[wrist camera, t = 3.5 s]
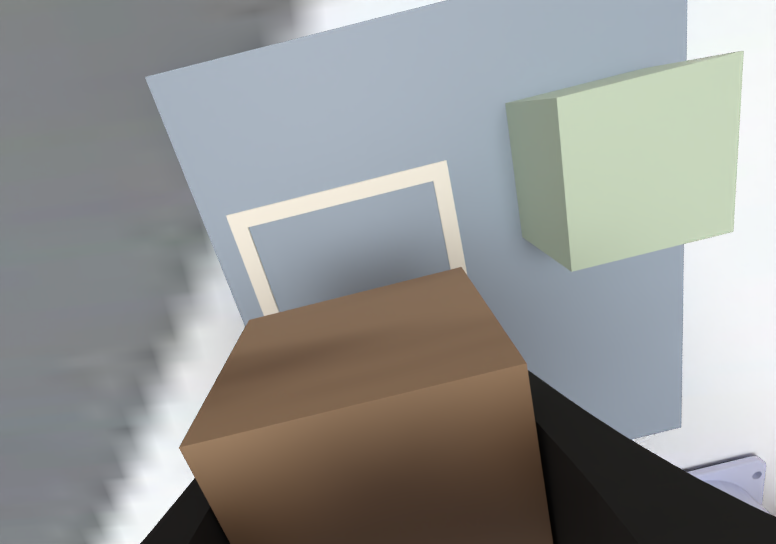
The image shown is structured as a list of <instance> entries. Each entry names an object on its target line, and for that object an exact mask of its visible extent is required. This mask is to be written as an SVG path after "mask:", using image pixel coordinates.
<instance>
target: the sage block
mask: <svg viewBox="0 0 776 544" xmlns="http://www.w3.org/2000/svg"><path fill="white" fill-rule="evenodd" d="M743 54H744V51H739V52H733V53H728V54H722V55H716V56H711V57H705V58H699V59H694V60H688V61H682V62H676V63H671V64H665V65H659V66H654V67H648V68H643V69H639V70H635V71H631V72H627V73H623V74H619V75H615V76H611V77H607V78H603V79H599V80H595V81H591V82H588V83H584V84H580V85H576V86H572V87H568V88H564V89H560V90H556V91H552V92H548V93H544V94H540V95H536V96H532V97H528V98H524V99H520V100H516V101H512V102H508V103H505V106H506V114H507V121H508V129H509V137H510V145H511V153H512V161H513V169H514V176H515V184H516V192H517V200H518V208H519V216H520V223H521V231H522V237H523V238H524V239H526V240H527V241H528V242H530V243H531V244H533V245H534V246H536V247H537V248H538V249H540V250H541V251H543V252H544V253H546V254H547V255H548V256H550V257H551V258H553V259H554V260H556V261H557V262H558V263H560V264H561V265H563V266H564V267H566V268H567V269H568V270H570V271H571V272H573V271H577V270H581V269H585V268H589V267H593V266H597V265H601V264H605V263H609V262H613V261H617V260H621V259H625V258H629V257H633V256H638V255H642V254H646V253H650V252H654V251H658V250H662V249H666V248H670V247H674V246H678V245H682V244H686V243H690V242H694V241H698V240H702V239H706V238H710V237H714V236H718V235H722V234H726V233H730V232H733V229H734V211H735V194H736V176H737V159H738V141H739V124H740V106H741V89H742V71H743Z"/></svg>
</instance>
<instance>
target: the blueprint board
mask: <svg viewBox="0 0 776 544" xmlns="http://www.w3.org/2000/svg"><path fill="white" fill-rule="evenodd" d="M686 56H687V0H446V1H442V2H438V3H434V4H430V5H426V6H422V7H419V8H415V9H411V10H407V11H403V12H399V13H395V14H391V15H387V16H383V17H379V18H375V19H371V20H368V21H364V22H360V23H356V24H352V25H348V26H344V27H340V28H336V29H332V30H328V31H324V32H320V33H316V34H313V35H309V36H305V37H301V38H297V39H293V40H289V41H285V42H281V43H277V44H273V45H269V46H265V47H262V48H258V49H254V50H250V51H246V52H242V53H238V54H234V55H230V56H226V57H222V58H218V59H214V60H211V61H207V62H203V63H199V64H195V65H191V66H187V67H183V68H179V69H175V70H171V71H167V72H163V73H159V74H156V75H152V76H148V77H145V78H146V81H147V83H148V86H149V88H150V91H151V93H152V96H153V98H154V101H155V103H156V105H157V108H158V110H159V113H160V115H161V118H162V120H163V123H164V125H165V128H166V130H167V133H168V135H169V138H170V140H171V143H172V145H173V148H174V150H175V153H176V155H177V158H178V160H179V163H180V165H181V168H182V170H183V173H184V175H185V178H186V180H187V183H188V185H189V188H190V190H191V193H192V195H193V198H194V200H195V203H196V205H197V208H198V210H199V213H200V215H201V218H202V220H203V223H204V225H205V228H206V230H207V232H208V235H209V237H210V240H211V242H212V245H213V247H214V250H215V252H216V255H217V257H218V260H219V262H220V265H221V267H222V270H223V272H224V275H225V277H226V280H227V282H228V285H229V287H230V290H231V292H232V295H233V297H234V300H235V302H236V305H237V307H238V310H239V312H240V315H241V317H242V320H243V322H244V325H245V326H246V325H247V323H248V321H249V320H251V319H255V318H259V317H263V316H267V315H271V314H275V313H279V312H283V311H287V310H291V309H295V308H299V307H303V306H307V305H311V304H315V303H319V302H323V301H327V300H331V299H335V298H339V297H343V296H347V295H351V294H355V293H359V292H363V291H367V290H371V289H375V288H379V287H383V286H387V285H391V284H395V283H399V282H403V281H407V280H411V279H415V278H419V277H423V276H427V275H431V274H435V273H439V272H443V271H447V270H451V269H455V268H459V267H462V268H463V270H464V271H465V273H466V274H467V276H468V277H469V279H470V280H471V282H472V283H473V285H474V286H475V288H476V289H477V291H478V292H479V293H480V295H481V296H482V298H483V299H484V301H485V302H486V304H487V305H488V307H489V308H490V310H491V311H492V313H493V314H494V316H495V317H496V319H497V320H498V322H499V323H500V325H501V326H502V328H503V329H504V330H505V332H506V333H507V335H508V336H509V338H510V339H511V341H512V342H513V344H514V345H515V347H516V348H517V350H518V351H519V353H520V354H521V356H522V357H523V359H524V360H525V362H526V363H527V369H528V370H529V371H530V372H532V373H533V374H535V375H536V376H537V377H539V378H540V379H542V380H543V381H544V382H546V383H547V384H549V385H550V386H551V387H553V388H554V389H556V390H557V391H558V392H560V393H561V394H563V395H564V396H565V397H567V398H568V399H570V400H571V401H573V402H574V403H575V404H577V405H578V406H580V407H581V408H583V409H584V410H586V411H587V412H589V413H590V414H592V415H593V416H595V417H596V418H598V419H599V420H601V421H602V422H604V423H606V424H607V425H609V426H610V427H612V428H613V429H615V430H616V431H618V432H619V433H621V434H623V435H624V436H626V437H627V438H629V439H636V438H640V437H644V436H648V435H652V434H656V433H660V432H664V431H668V430H672V429H676V428H681V407H682V337H683V267H684V244H682V245H678V246H674V247H670V248H666V249H662V250H658V251H654V252H650V253H646V254H642V255H638V256H633V257H629V258H625V259H621V260H617V261H613V262H609V263H605V264H601V265H597V266H593V267H589V268H585V269H581V270H577V271H573V272H571V271H570V270H568V269H567V268H566V267H564V266H563V265H561V264H560V263H558V262H557V261H556V260H554V259H553V258H551V257H550V256H548V255H547V254H546V253H544V252H543V251H541V250H540V249H538V248H537V247H536V246H534V245H533V244H531V243H530V242H528V241H527V240H526V239H524V238H523V237H522V231H521V223H520V216H519V208H518V200H517V192H516V184H515V176H514V169H513V161H512V153H511V145H510V137H509V129H508V121H507V114H506V106H505V103H508V102H512V101H516V100H520V99H524V98H528V97H532V96H536V95H540V94H544V93H548V92H552V91H556V90H560V89H564V88H568V87H572V86H576V85H580V84H584V83H588V82H591V81H595V80H599V79H603V78H607V77H611V76H615V75H619V74H623V73H627V72H631V71H635V70H639V69H643V68H648V67H654V66H659V65H665V64H671V63H676V62H682V61H686Z"/></svg>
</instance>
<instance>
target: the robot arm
mask: <svg viewBox="0 0 776 544" xmlns="http://www.w3.org/2000/svg"><path fill="white" fill-rule="evenodd" d="M528 376H529V383H530V389H531V396H532V403H533V410H534V417H535V423H536V430H537V437H538V444H539V451H540V457H541V464H542V471H543V478H544V485H545V491H546V498H547V505H548V512H549V519H550V525H551V532H552V539H553V544H776V517H775V516H773V515H771V514H770V513H769V512H768V511H767V510H766V509H765V508H764V507H763V506H762V500H763V490H764V481H765V472H766V463H765V461H763V460H762V459H761V458H760V457H758V456H751V457H746V458H742V459H738V460H734V461H730V462H726V463H722V464H718V465H714V466H709V467H705V468H701V469H697V470H693V471H689V472H685V471H684V470H682V469H680V468H678V467H676V466H675V465H673V464H671V463H669V462H668V461H666V460H664V459H663V458H661V457H659V456H657V455H656V454H654V453H652V452H651V451H649V450H647V449H645V448H644V447H642V446H640V445H639V444H637V443H636V442H634V441H632V440H631V439H629V438H627V437H626V436H624V435H623V434H621V433H619V432H618V431H616V430H615V429H613V428H612V427H610V426H609V425H607V424H606V423H604V422H602V421H601V420H599V419H598V418H596V417H595V416H593V415H592V414H590V413H589V412H587V411H586V410H584V409H583V408H581V407H580V406H578V405H577V404H575V403H574V402H573V401H571V400H570V399H568V398H567V397H565V396H564V395H563V394H561V393H560V392H558V391H557V390H556V389H554V388H553V387H551V386H550V385H549V384H547V383H546V382H544V381H543V380H542V379H540V378H539V377H537V376H536V375H535V374H533V373H532V372H530V371H529V370H528ZM140 544H230V542H229V540H228V538H227V536H226V535H225V533H224V531H223V529H222V527H221V525H220V523H219V521H218V520H217V518H216V516H215V514H214V512H213V510H212V508H211V507H210V505H209V503H208V501H207V499H206V497H205V495H204V493H203V492H202V490H201V488H200V486H199V484H198V482H197V480H196V479H195V478H194V480H193V481H192V482H191V483H190V485H189V486H188V487H187V488H186V489H185V491H184V492H183V493H182V494H181V496H180V497H179V498H178V499H177V500H176V502H175V503H174V504H173V505H172V506H171V508H170V509H169V510H168V511H167V512H166V514H165V515H164V516H163V517H162V519H161V520H160V521H159V522H158V523H157V525H156V526H155V527H154V528H153V529H152V531H151V532H150V533H149V534H148V535H147V537H146V538H145V539H144V540H143V541H142V542H141V543H140Z"/></svg>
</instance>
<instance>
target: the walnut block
mask: <svg viewBox="0 0 776 544" xmlns="http://www.w3.org/2000/svg"><path fill="white" fill-rule="evenodd" d="M179 449H180V451H181V452H182V454H183V456H184V458H185V460H186V462H187V464H188V465H189V467H190V469H191V471H192V473H193V475H194V477H195V479H196V480H197V482H198V484H199V486H200V488H201V490H202V492H203V493H204V495H205V497H206V499H207V501H208V503H209V505H210V507H211V508H212V510H213V512H214V514H215V516H216V518H217V520H218V521H219V523H220V525H221V527H222V529H223V531H224V533H225V535H226V536H227V538H228V540H229V542H230V544H553V539H552V532H551V525H550V519H549V512H548V505H547V498H546V491H545V485H544V478H543V471H542V464H541V457H540V451H539V444H538V437H537V430H536V423H535V417H534V410H533V403H532V396H531V389H530V383H529V376H528V369H527V363H526V362H525V360H524V359H523V357H522V356H521V354H520V353H519V351H518V350H517V348H516V347H515V345H514V344H513V342H512V341H511V339H510V338H509V336H508V335H507V333H506V332H505V330H504V329H503V328H502V326H501V325H500V323H499V322H498V320H497V319H496V317H495V316H494V314H493V313H492V311H491V310H490V308H489V307H488V305H487V304H486V302H485V301H484V299H483V298H482V296H481V295H480V293H479V292H478V291H477V289H476V288H475V286H474V285H473V283H472V282H471V280H470V279H469V277H468V276H467V274H466V273H465V271H464V270H463V268H462V267H459V268H455V269H451V270H447V271H443V272H439V273H435V274H431V275H427V276H423V277H419V278H415V279H411V280H407V281H403V282H399V283H395V284H391V285H387V286H383V287H379V288H375V289H371V290H367V291H363V292H359V293H355V294H351V295H347V296H343V297H339V298H335V299H331V300H327V301H323V302H319V303H315V304H311V305H307V306H303V307H299V308H295V309H291V310H287V311H283V312H279V313H275V314H271V315H267V316H263V317H259V318H255V319H251V320H249V321H248V323H247V325H246V326H245V328H244V330H243V332H242V334H241V336H240V337H239V339H238V341H237V343H236V345H235V347H234V348H233V350H232V352H231V354H230V356H229V357H228V359H227V361H226V363H225V365H224V367H223V368H222V370H221V372H220V374H219V376H218V377H217V379H216V381H215V383H214V385H213V387H212V388H211V390H210V392H209V394H208V396H207V398H206V399H205V401H204V403H203V405H202V407H201V408H200V410H199V412H198V414H197V416H196V418H195V419H194V421H193V423H192V425H191V427H190V428H189V430H188V432H187V434H186V436H185V438H184V439H183V441H182V443H181V445H180V447H179Z"/></svg>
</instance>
